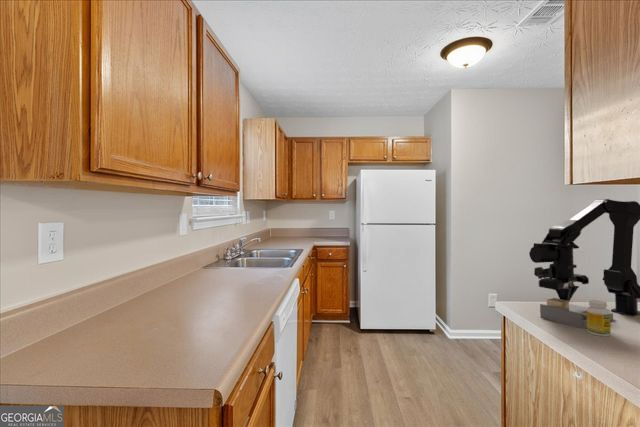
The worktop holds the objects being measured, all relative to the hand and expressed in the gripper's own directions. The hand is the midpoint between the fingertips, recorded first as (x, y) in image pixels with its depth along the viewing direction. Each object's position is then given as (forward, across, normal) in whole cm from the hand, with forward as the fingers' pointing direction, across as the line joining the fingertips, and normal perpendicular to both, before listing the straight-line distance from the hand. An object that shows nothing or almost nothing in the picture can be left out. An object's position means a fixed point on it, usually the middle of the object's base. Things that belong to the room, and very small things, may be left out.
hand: (564, 305), depth 111 cm
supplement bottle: (+4, +8, +14) cm, 16 cm away
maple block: (+2, +4, 0) cm, 4 cm away
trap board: (+4, -1, +3) cm, 5 cm away
